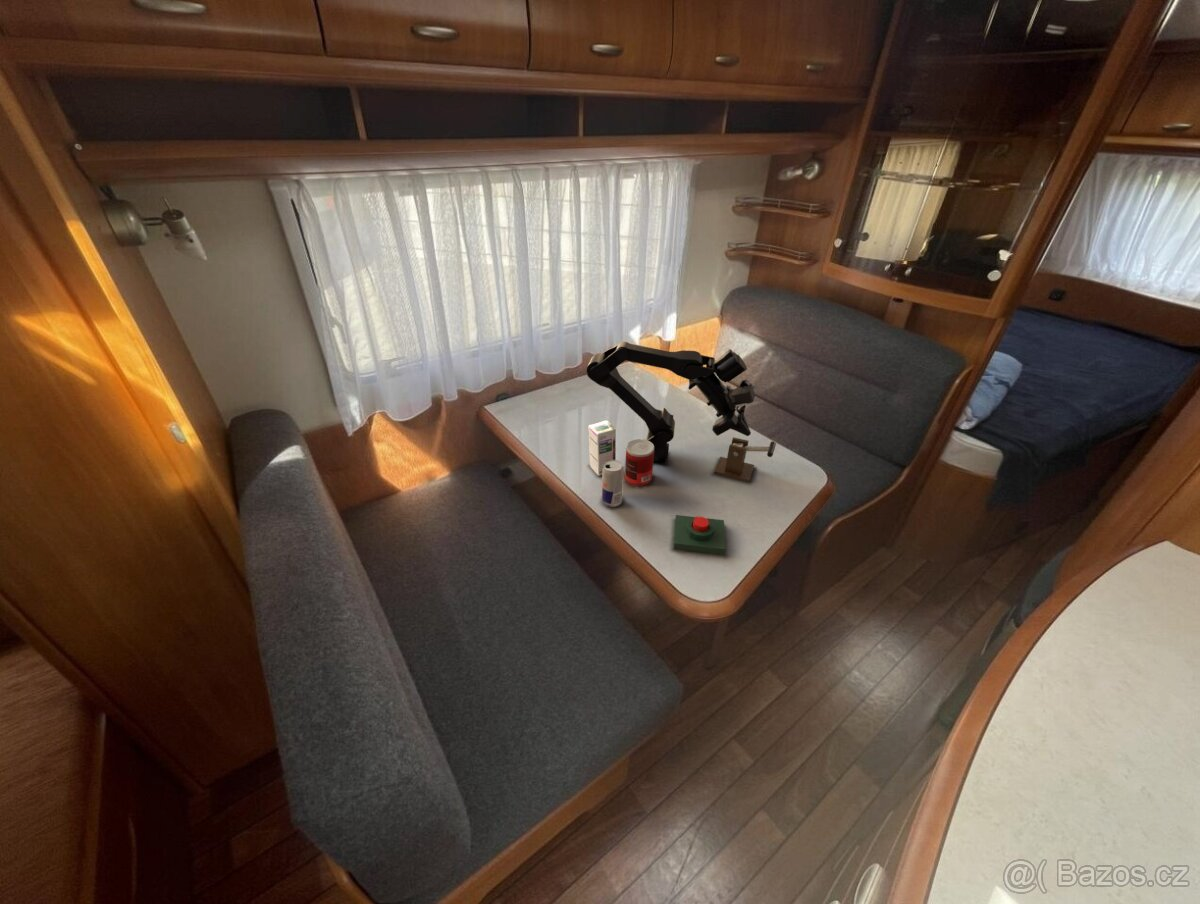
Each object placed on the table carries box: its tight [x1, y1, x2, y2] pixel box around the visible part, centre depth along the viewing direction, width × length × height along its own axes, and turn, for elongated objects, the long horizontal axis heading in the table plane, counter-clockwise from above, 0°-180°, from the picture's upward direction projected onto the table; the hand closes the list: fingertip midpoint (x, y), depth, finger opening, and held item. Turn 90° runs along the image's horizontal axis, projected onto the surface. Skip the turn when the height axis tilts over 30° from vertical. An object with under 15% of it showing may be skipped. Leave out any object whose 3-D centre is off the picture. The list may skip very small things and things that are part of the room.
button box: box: [672, 514, 727, 556], centre depth 116 cm, size 12×10×4 cm
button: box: [693, 516, 709, 532], centre depth 115 cm, size 4×4×2 cm
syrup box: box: [588, 420, 617, 477], centre depth 137 cm, size 6×6×14 cm
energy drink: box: [601, 459, 624, 508], centre depth 125 cm, size 5×5×12 cm
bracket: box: [713, 437, 755, 483], centre depth 137 cm, size 10×8×10 cm
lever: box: [733, 441, 777, 458], centre depth 133 cm, size 11×6×2 cm, turn 65°
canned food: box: [624, 438, 654, 487], centre depth 134 cm, size 8×8×11 cm
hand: (749, 434), depth 131 cm, fingers closed
